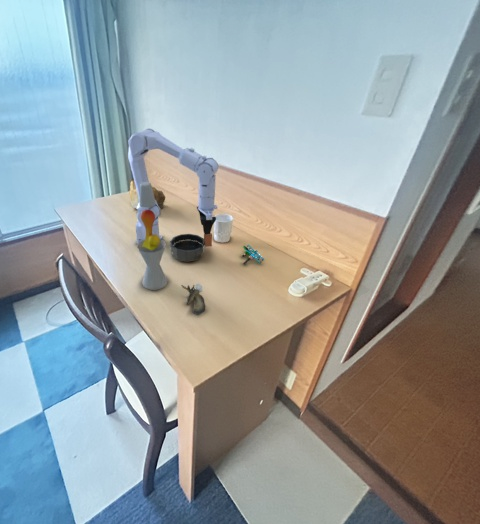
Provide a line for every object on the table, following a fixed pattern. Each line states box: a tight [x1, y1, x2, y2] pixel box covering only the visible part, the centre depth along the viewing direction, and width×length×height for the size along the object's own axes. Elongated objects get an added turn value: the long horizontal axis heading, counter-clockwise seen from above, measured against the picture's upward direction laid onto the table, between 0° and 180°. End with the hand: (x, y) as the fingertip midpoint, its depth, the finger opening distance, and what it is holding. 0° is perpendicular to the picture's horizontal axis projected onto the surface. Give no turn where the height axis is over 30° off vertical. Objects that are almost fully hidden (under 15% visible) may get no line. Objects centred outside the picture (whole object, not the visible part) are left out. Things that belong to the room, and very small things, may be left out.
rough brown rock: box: [129, 179, 166, 210], centre depth 148 cm, size 23×17×15 cm
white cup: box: [213, 213, 234, 243], centre depth 119 cm, size 8×8×10 cm
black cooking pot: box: [169, 232, 213, 263], centre depth 109 cm, size 16×13×8 cm
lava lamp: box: [136, 181, 168, 291], centre depth 88 cm, size 9×9×35 cm
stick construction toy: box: [241, 244, 265, 266], centre depth 106 cm, size 12×7×8 cm
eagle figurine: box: [181, 283, 206, 316], centre depth 86 cm, size 8×7×9 cm
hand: (205, 229), depth 108 cm, fingers open, 7 cm apart
